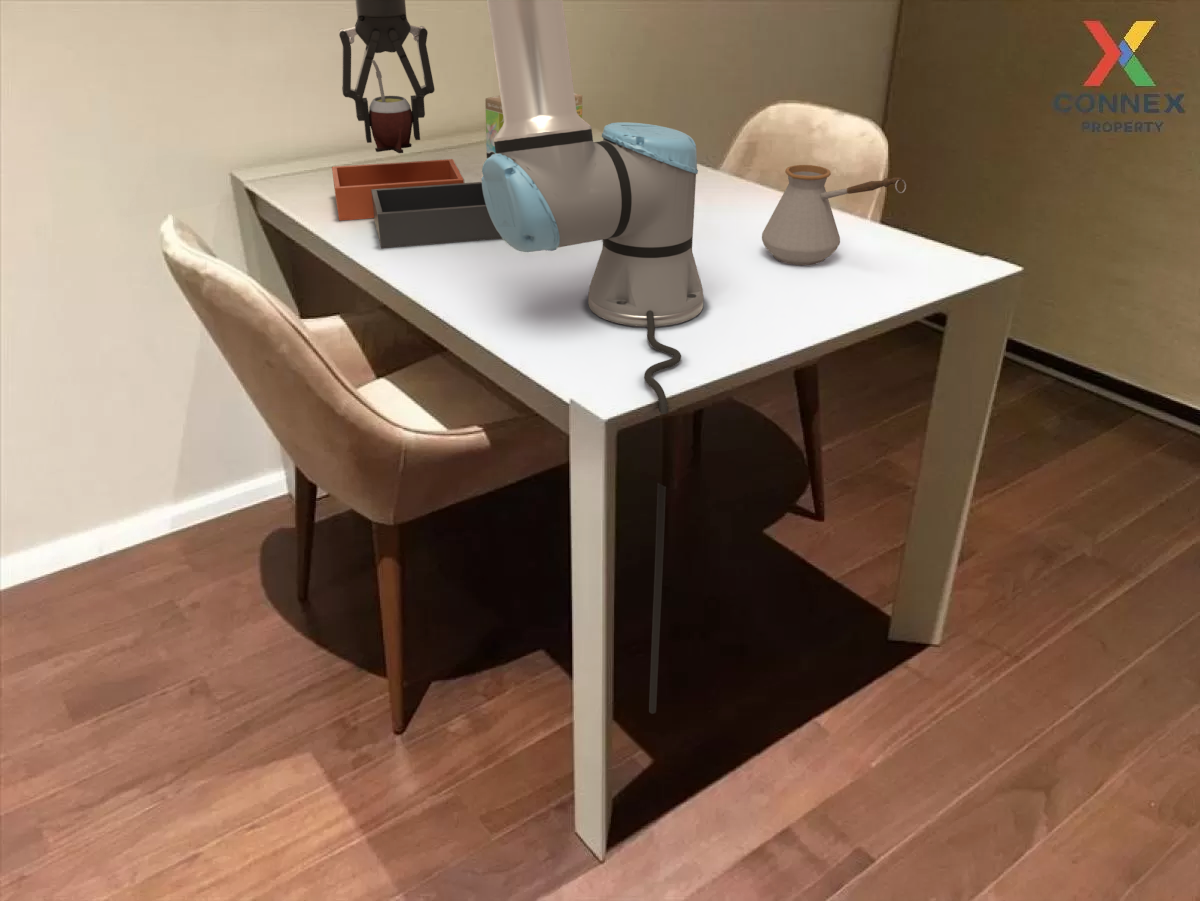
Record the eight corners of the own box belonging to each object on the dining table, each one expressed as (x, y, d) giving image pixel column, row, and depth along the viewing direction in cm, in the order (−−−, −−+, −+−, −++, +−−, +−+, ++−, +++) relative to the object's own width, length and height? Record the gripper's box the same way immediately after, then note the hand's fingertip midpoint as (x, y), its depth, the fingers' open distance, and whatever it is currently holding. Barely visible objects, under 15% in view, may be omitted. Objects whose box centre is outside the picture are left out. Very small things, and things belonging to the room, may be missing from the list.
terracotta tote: (465, 211, 173) (463, 179, 170) (339, 220, 169) (335, 188, 166) (454, 189, 184) (452, 158, 181) (335, 197, 179) (331, 166, 177)
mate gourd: (404, 141, 176) (396, 47, 169) (424, 151, 171) (417, 55, 163) (363, 147, 173) (352, 52, 165) (382, 158, 167) (372, 60, 159)
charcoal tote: (515, 237, 162) (514, 204, 159) (381, 248, 157) (377, 214, 155) (500, 212, 173) (499, 180, 170) (374, 221, 168) (371, 189, 165)
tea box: (524, 193, 182) (522, 106, 175) (486, 181, 188) (482, 97, 180) (583, 175, 192) (583, 92, 184) (545, 165, 198) (543, 84, 190)
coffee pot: (744, 255, 155) (752, 154, 148) (792, 238, 162) (802, 141, 155) (864, 295, 142) (879, 187, 134) (910, 275, 149) (928, 170, 141)
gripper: (441, -18, 165) (450, 130, 176) (311, -14, 160) (329, 137, 172) (447, -11, 158) (457, 141, 170) (312, -8, 154) (331, 148, 166)
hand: (393, 139), depth 171 cm, fingers closed on mate gourd, 7 cm apart
